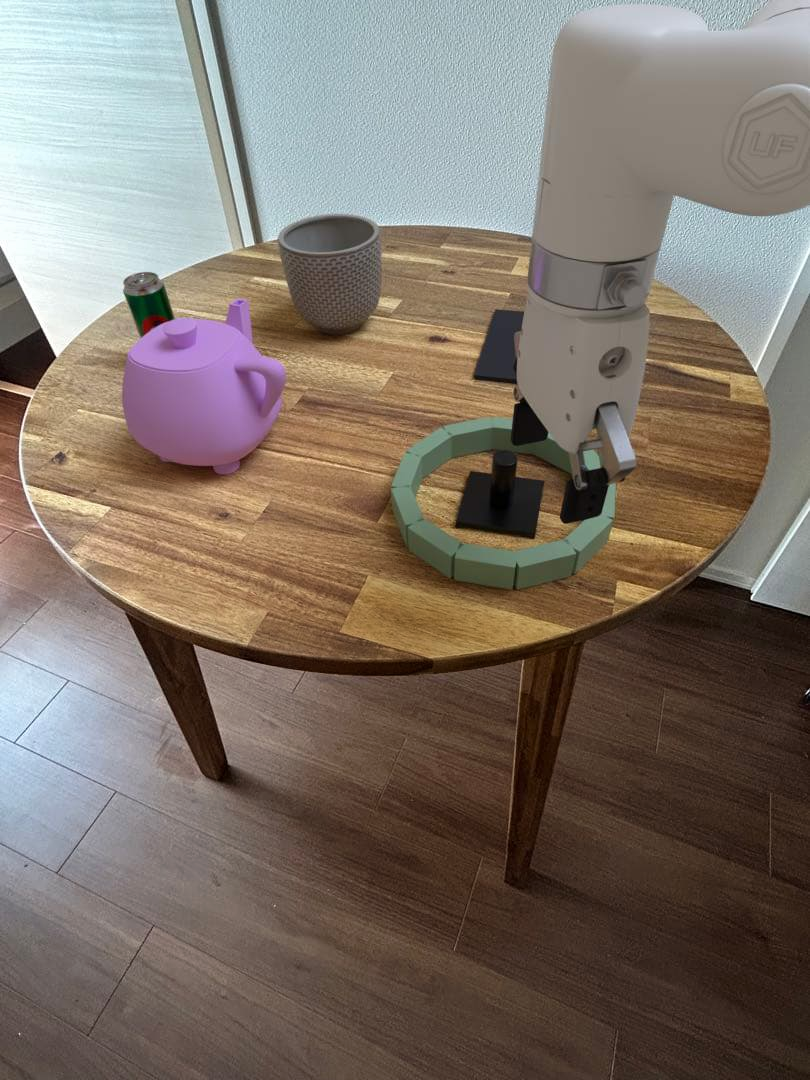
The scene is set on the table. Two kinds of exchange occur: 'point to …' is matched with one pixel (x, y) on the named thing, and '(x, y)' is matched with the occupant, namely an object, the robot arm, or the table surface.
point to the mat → (500, 347)
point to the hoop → (480, 560)
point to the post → (501, 499)
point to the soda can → (147, 301)
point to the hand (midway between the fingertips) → (552, 477)
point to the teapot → (202, 391)
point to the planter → (333, 269)
